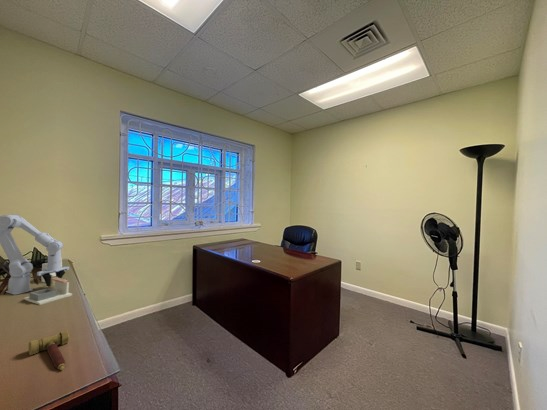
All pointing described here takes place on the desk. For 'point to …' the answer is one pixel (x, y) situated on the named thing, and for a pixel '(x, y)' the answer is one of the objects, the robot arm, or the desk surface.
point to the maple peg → (52, 283)
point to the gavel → (51, 347)
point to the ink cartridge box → (44, 267)
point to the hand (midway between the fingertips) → (53, 284)
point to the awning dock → (50, 292)
